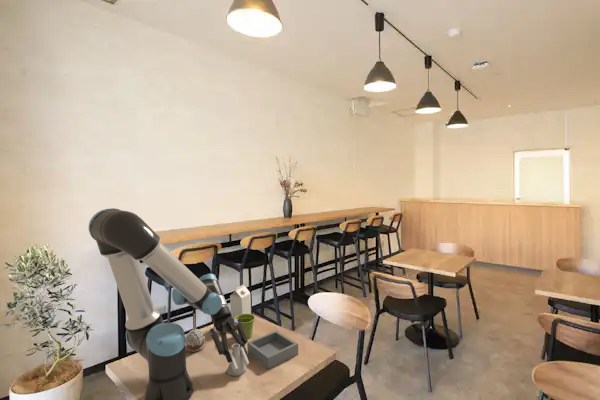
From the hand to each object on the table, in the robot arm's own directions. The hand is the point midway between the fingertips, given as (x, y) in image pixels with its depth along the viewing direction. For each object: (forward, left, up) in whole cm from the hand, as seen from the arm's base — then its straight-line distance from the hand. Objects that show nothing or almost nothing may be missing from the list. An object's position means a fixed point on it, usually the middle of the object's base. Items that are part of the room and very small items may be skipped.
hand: (241, 367), depth 119 cm
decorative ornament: (-5, +30, -4) cm, 30 cm away
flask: (0, +4, -4) cm, 5 cm away
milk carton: (+21, +36, -4) cm, 42 cm away
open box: (+17, +4, -3) cm, 18 cm away
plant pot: (+16, +24, -4) cm, 29 cm away
